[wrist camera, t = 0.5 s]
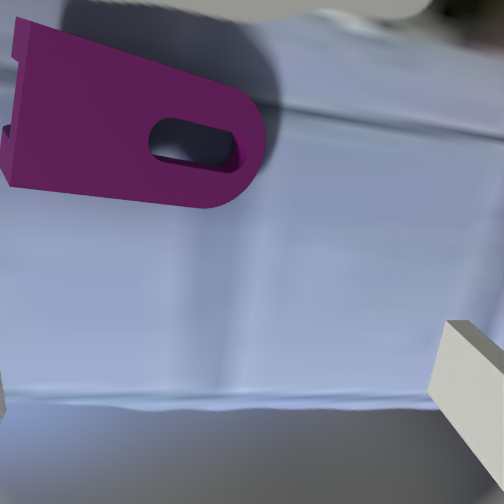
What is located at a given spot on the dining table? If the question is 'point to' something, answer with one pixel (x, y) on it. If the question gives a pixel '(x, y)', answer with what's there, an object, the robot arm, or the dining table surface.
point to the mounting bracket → (118, 124)
